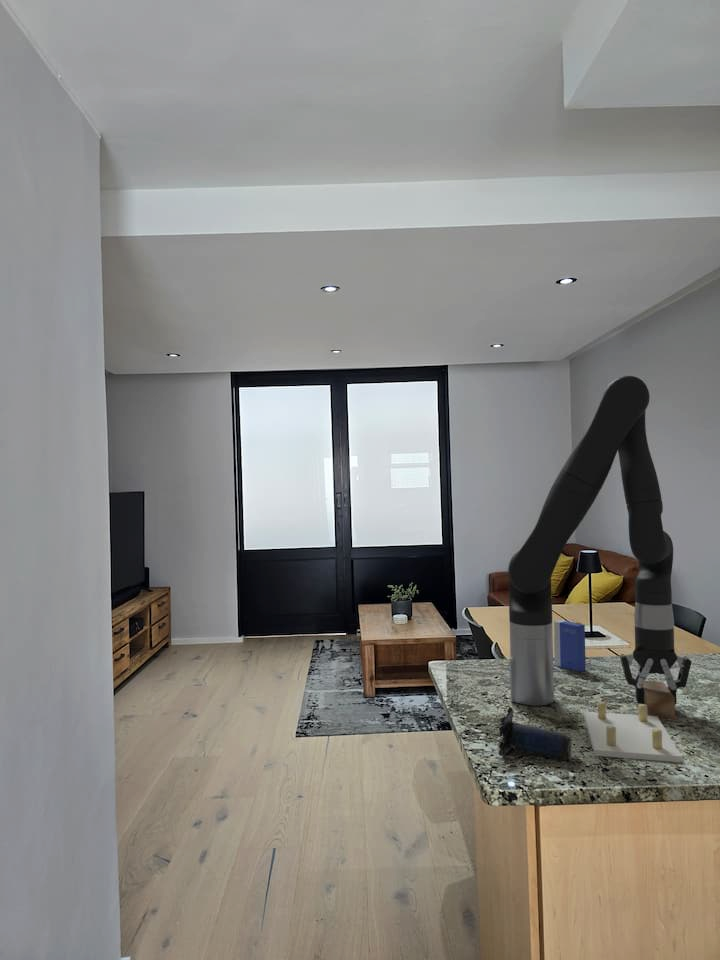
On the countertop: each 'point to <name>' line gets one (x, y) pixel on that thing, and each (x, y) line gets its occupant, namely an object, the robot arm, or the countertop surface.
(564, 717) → the countertop surface
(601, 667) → the countertop surface
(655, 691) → the brown rectangular block
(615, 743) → the board
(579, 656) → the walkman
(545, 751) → the beverage can
